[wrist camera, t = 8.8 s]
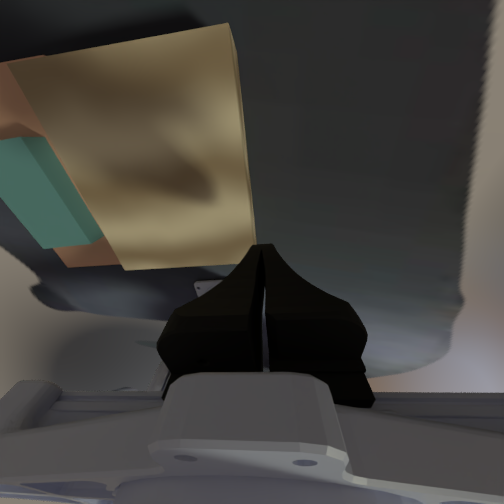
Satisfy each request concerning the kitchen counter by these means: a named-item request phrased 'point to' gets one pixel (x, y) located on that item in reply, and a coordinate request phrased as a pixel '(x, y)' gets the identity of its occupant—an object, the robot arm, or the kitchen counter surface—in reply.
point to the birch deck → (153, 143)
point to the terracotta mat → (27, 125)
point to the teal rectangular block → (44, 194)
